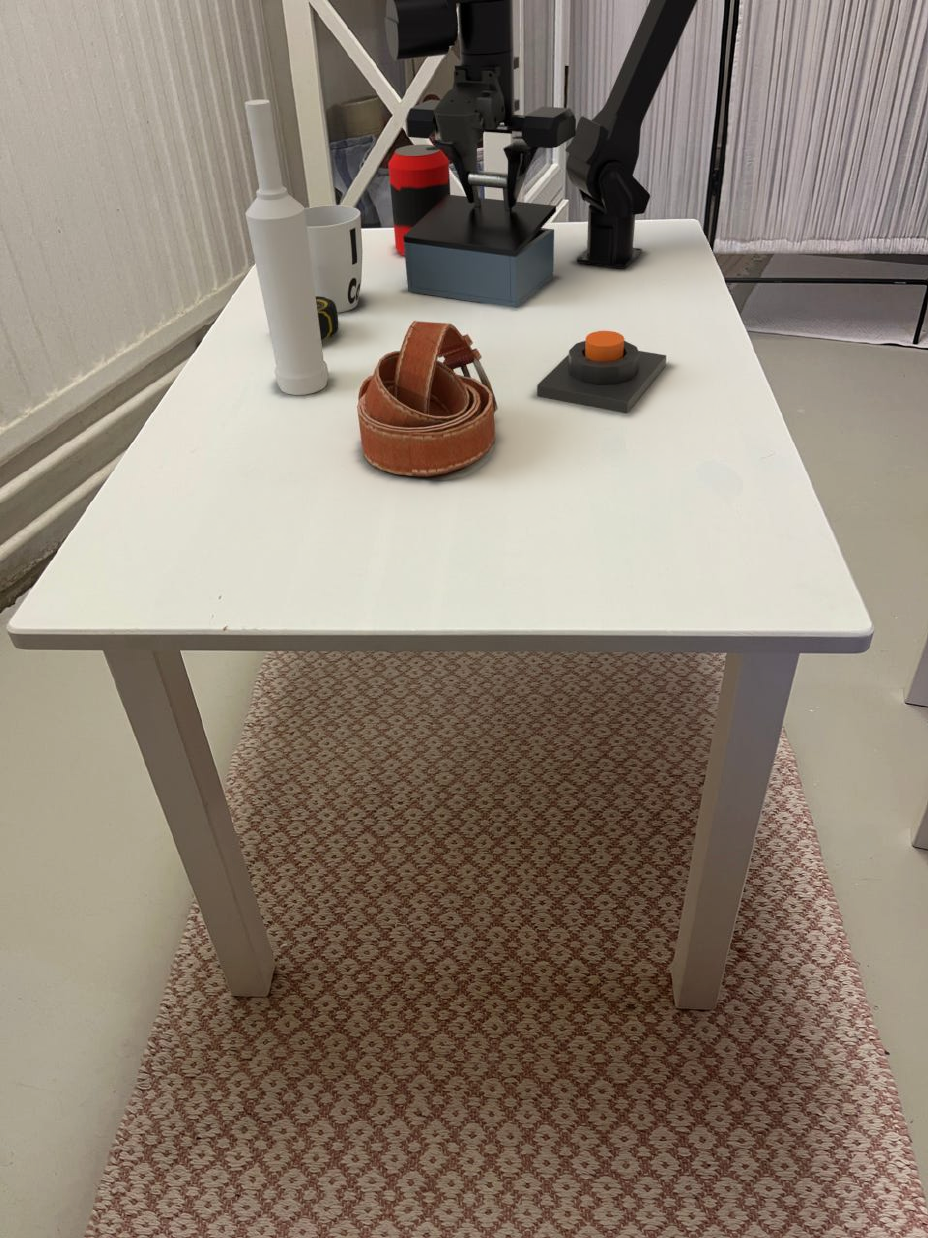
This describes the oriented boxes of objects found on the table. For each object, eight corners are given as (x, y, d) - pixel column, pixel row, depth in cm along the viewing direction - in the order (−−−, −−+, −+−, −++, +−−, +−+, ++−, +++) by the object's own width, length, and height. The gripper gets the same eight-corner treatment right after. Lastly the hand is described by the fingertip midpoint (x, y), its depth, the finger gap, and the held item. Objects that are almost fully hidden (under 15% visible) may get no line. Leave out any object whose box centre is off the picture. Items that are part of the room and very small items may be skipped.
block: (581, 352, 95) (582, 323, 93) (665, 366, 92) (668, 337, 90) (536, 396, 88) (536, 367, 86) (626, 414, 84) (629, 383, 82)
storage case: (449, 263, 118) (446, 216, 114) (553, 277, 112) (554, 229, 108) (407, 291, 111) (403, 242, 107) (516, 308, 105) (516, 257, 102)
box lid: (447, 199, 113) (442, 160, 110) (556, 211, 108) (554, 169, 104) (403, 241, 107) (396, 201, 104) (516, 256, 102) (512, 214, 98)
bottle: (320, 397, 90) (275, 108, 74) (269, 394, 91) (215, 108, 75) (336, 374, 94) (297, 95, 78) (287, 371, 95) (239, 95, 79)
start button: (593, 345, 90) (594, 327, 89) (628, 351, 89) (629, 333, 88) (579, 359, 88) (579, 342, 87) (615, 366, 86) (616, 348, 85)
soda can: (458, 254, 120) (454, 153, 112) (401, 261, 119) (392, 160, 111) (446, 237, 126) (440, 139, 118) (391, 243, 125) (382, 146, 117)
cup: (366, 316, 105) (355, 225, 99) (295, 319, 105) (280, 228, 99) (373, 290, 111) (363, 203, 105) (306, 293, 112) (293, 206, 105)
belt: (530, 427, 83) (530, 318, 77) (450, 493, 75) (443, 378, 69) (406, 394, 89) (397, 291, 83) (320, 453, 81) (302, 343, 75)
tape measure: (329, 321, 105) (325, 288, 102) (348, 342, 100) (344, 308, 97) (270, 333, 103) (264, 299, 100) (287, 355, 98) (281, 321, 95)
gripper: (372, 61, 97) (387, 217, 107) (534, 68, 89) (535, 234, 99) (425, 42, 104) (435, 189, 114) (579, 47, 97) (575, 204, 107)
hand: (491, 204), depth 108 cm, fingers closed on box lid, 5 cm apart
